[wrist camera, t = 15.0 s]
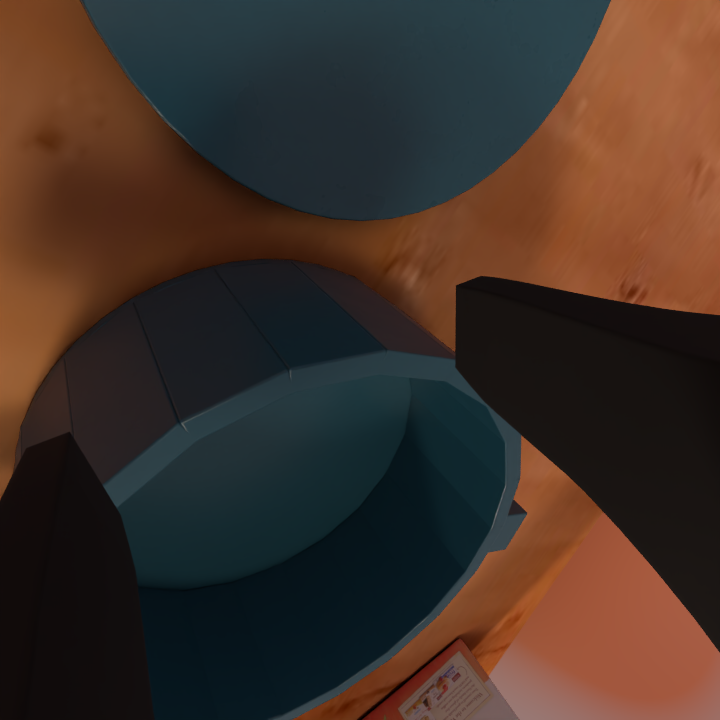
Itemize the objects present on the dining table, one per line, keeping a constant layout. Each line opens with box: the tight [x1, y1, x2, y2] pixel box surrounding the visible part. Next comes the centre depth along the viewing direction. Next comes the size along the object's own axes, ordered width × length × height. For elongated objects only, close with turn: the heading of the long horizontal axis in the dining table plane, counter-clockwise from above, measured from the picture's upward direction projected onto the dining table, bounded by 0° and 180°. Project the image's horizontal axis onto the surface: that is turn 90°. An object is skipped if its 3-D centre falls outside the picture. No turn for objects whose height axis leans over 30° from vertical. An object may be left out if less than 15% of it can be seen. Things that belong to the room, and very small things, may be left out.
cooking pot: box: [13, 259, 527, 720], centre depth 21 cm, size 18×23×8 cm
